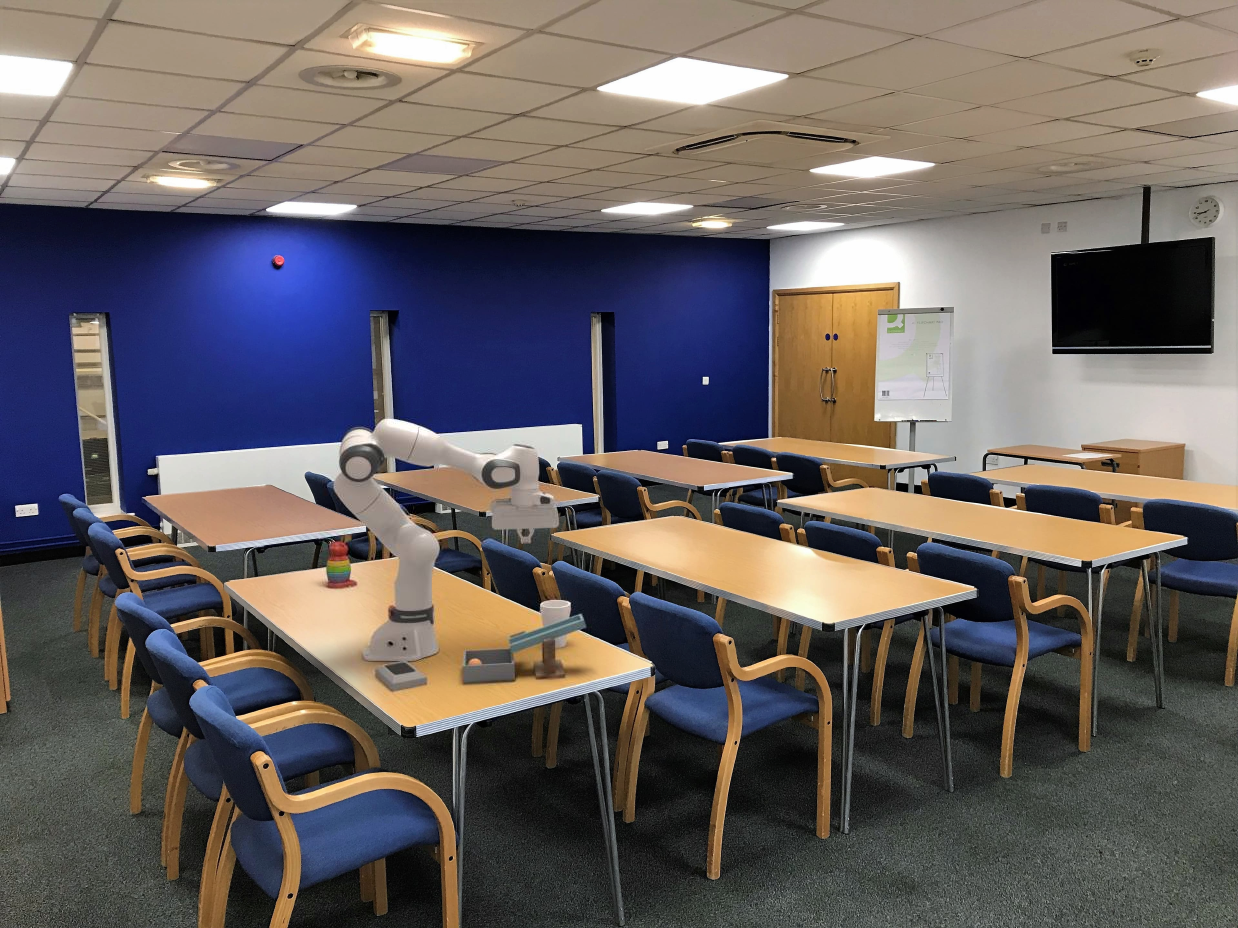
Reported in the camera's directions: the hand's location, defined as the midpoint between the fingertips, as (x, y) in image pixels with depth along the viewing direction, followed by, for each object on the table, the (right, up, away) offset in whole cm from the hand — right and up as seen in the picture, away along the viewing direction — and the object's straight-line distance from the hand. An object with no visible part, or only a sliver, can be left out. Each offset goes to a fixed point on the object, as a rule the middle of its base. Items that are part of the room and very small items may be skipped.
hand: (525, 543), depth 282 cm
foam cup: (+9, -33, +8) cm, 35 cm away
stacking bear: (-82, -24, +85) cm, 121 cm away
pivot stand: (+8, -35, -16) cm, 39 cm away
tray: (-9, -36, -19) cm, 41 cm away
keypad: (-33, -37, -23) cm, 54 cm away
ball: (-12, -33, -20) cm, 40 cm away
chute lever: (+8, -25, -14) cm, 30 cm away
